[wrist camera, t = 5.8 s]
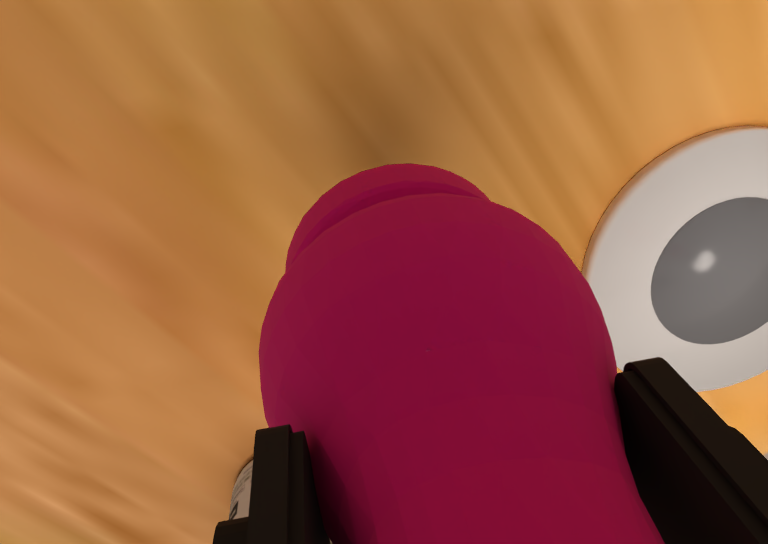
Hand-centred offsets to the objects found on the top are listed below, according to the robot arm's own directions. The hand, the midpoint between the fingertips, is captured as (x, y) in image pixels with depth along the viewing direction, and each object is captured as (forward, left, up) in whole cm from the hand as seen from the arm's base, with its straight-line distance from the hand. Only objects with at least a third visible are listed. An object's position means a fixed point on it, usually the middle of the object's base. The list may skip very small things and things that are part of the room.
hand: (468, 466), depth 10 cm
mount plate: (+9, +18, -20) cm, 29 cm away
